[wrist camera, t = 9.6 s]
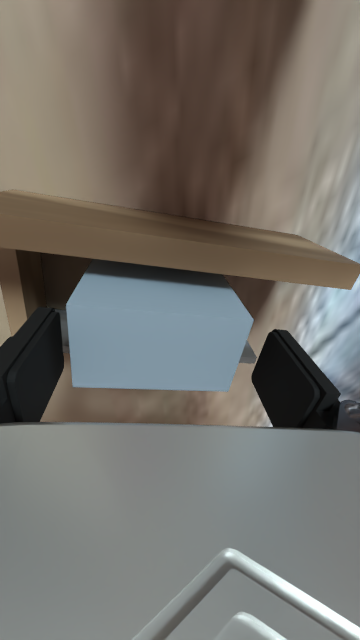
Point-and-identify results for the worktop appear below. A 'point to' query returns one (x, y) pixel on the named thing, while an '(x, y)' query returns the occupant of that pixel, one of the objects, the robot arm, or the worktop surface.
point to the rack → (146, 249)
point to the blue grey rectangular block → (154, 328)
